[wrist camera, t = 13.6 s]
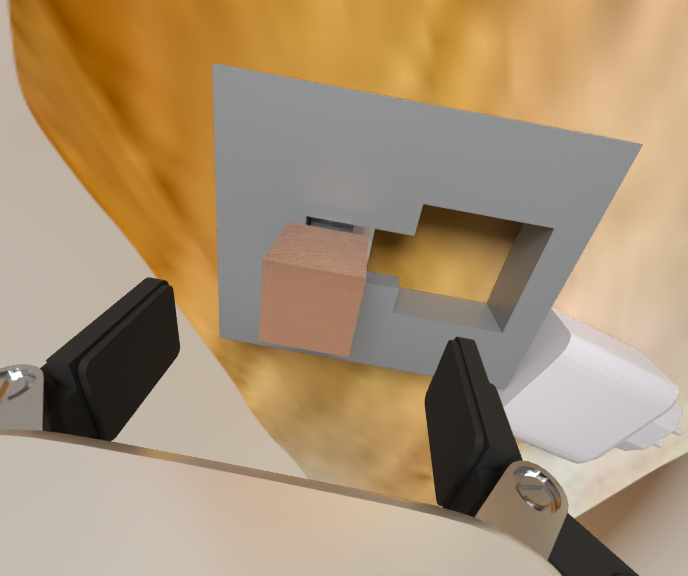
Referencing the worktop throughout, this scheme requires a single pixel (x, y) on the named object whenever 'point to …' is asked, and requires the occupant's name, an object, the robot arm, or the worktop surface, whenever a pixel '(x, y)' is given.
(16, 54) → the worktop surface
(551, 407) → the charger
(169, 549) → the robot arm
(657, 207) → the worktop surface
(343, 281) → the peg
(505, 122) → the keyhole plate
